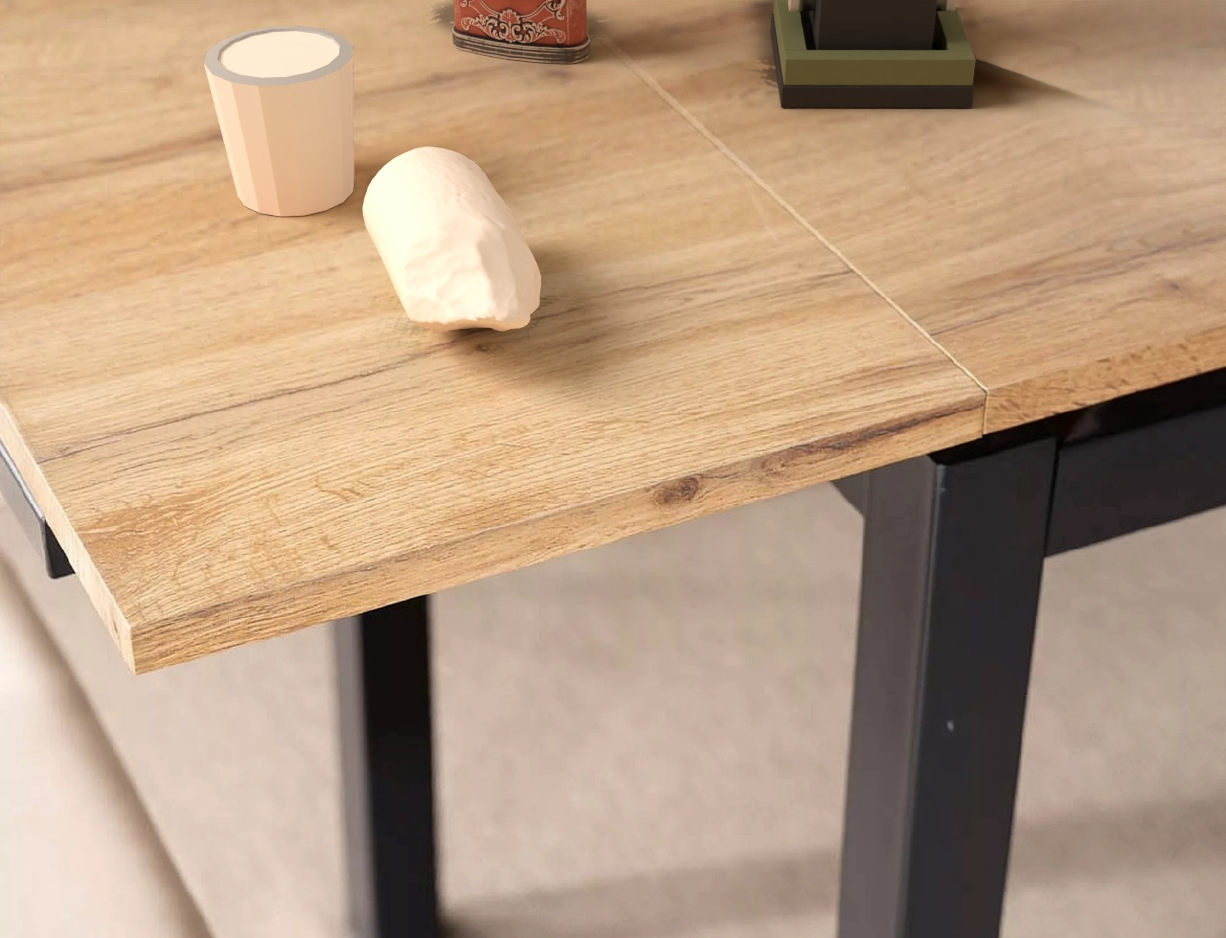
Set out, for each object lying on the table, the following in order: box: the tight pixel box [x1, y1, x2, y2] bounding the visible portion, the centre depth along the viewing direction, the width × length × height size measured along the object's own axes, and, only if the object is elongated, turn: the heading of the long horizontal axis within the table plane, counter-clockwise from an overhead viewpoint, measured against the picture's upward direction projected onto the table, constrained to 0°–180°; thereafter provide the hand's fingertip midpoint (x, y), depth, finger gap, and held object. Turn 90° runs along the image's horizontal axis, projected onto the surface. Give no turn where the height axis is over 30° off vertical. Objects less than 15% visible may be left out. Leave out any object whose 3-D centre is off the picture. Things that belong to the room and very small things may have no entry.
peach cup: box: [203, 25, 355, 217], centre depth 82 cm, size 7×7×7 cm
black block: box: [808, 0, 937, 50], centre depth 93 cm, size 6×6×4 cm
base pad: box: [769, 0, 977, 109], centre depth 95 cm, size 10×10×3 cm
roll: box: [361, 146, 542, 333], centre depth 73 cm, size 6×12×6 cm, turn 18°
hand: (871, 7), depth 93 cm, fingers closed on black block, 6 cm apart
